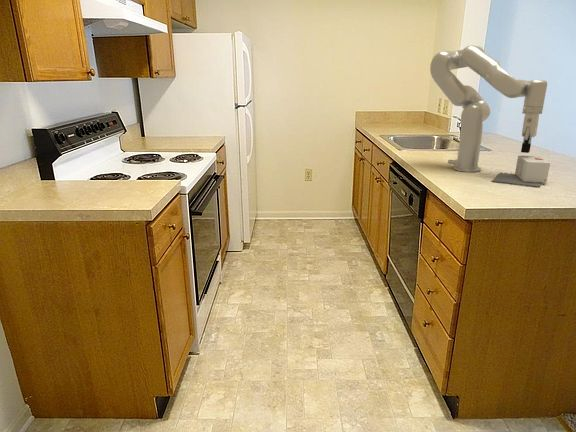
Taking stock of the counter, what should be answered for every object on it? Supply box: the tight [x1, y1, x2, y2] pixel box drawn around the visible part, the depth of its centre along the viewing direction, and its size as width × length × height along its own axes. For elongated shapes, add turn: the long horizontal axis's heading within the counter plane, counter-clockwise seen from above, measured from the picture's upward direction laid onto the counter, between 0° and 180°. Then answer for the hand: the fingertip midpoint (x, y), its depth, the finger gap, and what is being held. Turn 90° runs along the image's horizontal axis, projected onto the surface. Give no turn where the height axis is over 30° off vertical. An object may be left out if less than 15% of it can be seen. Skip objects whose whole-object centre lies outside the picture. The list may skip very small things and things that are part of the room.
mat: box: [491, 172, 542, 188], centre depth 181 cm, size 18×19×1 cm
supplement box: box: [514, 155, 551, 184], centre depth 180 cm, size 9×9×15 cm
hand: (525, 152), depth 184 cm, fingers closed
